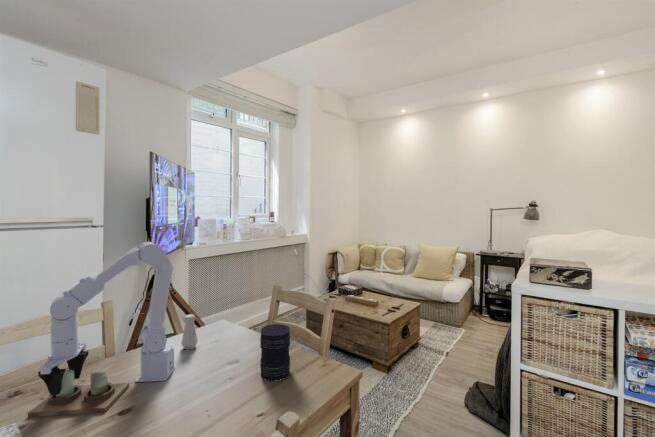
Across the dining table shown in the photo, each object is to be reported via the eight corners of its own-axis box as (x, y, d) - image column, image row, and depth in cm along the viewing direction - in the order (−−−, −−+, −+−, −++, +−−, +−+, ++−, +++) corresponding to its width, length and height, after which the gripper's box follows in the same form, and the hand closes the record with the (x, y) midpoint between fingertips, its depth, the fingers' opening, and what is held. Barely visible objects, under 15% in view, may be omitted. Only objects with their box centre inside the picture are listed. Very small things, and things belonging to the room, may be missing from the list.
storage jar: (263, 384, 96) (263, 337, 95) (257, 369, 105) (257, 326, 104) (293, 377, 100) (294, 332, 99) (285, 363, 109) (285, 322, 108)
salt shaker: (191, 351, 117) (191, 318, 117) (178, 350, 119) (177, 317, 118) (200, 345, 123) (200, 313, 123) (187, 344, 124) (187, 312, 124)
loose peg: (77, 393, 89) (77, 369, 88) (67, 401, 85) (67, 376, 84) (63, 393, 88) (62, 369, 88) (51, 402, 84) (51, 377, 84)
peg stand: (129, 386, 94) (129, 360, 94) (105, 412, 82) (105, 382, 82) (62, 390, 92) (61, 363, 92) (27, 417, 80) (27, 386, 80)
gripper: (68, 329, 93) (68, 373, 93) (26, 351, 78) (28, 402, 79) (93, 328, 94) (93, 371, 94) (56, 349, 79) (57, 401, 79)
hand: (65, 385), depth 86 cm, fingers open, 7 cm apart
